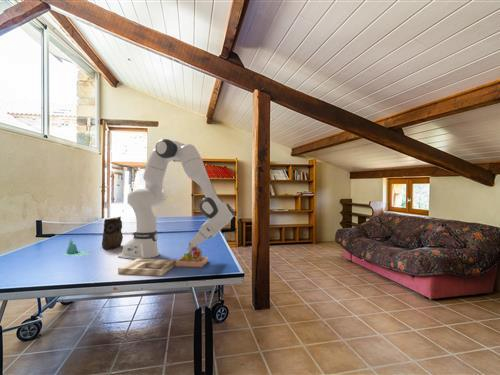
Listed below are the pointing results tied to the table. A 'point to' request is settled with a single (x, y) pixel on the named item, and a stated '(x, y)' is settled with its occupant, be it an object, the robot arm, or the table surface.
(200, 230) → the robot arm
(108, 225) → the brown owl figurine
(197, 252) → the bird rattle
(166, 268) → the puzzle board
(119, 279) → the table surface
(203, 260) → the terracotta tray
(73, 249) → the diorama
